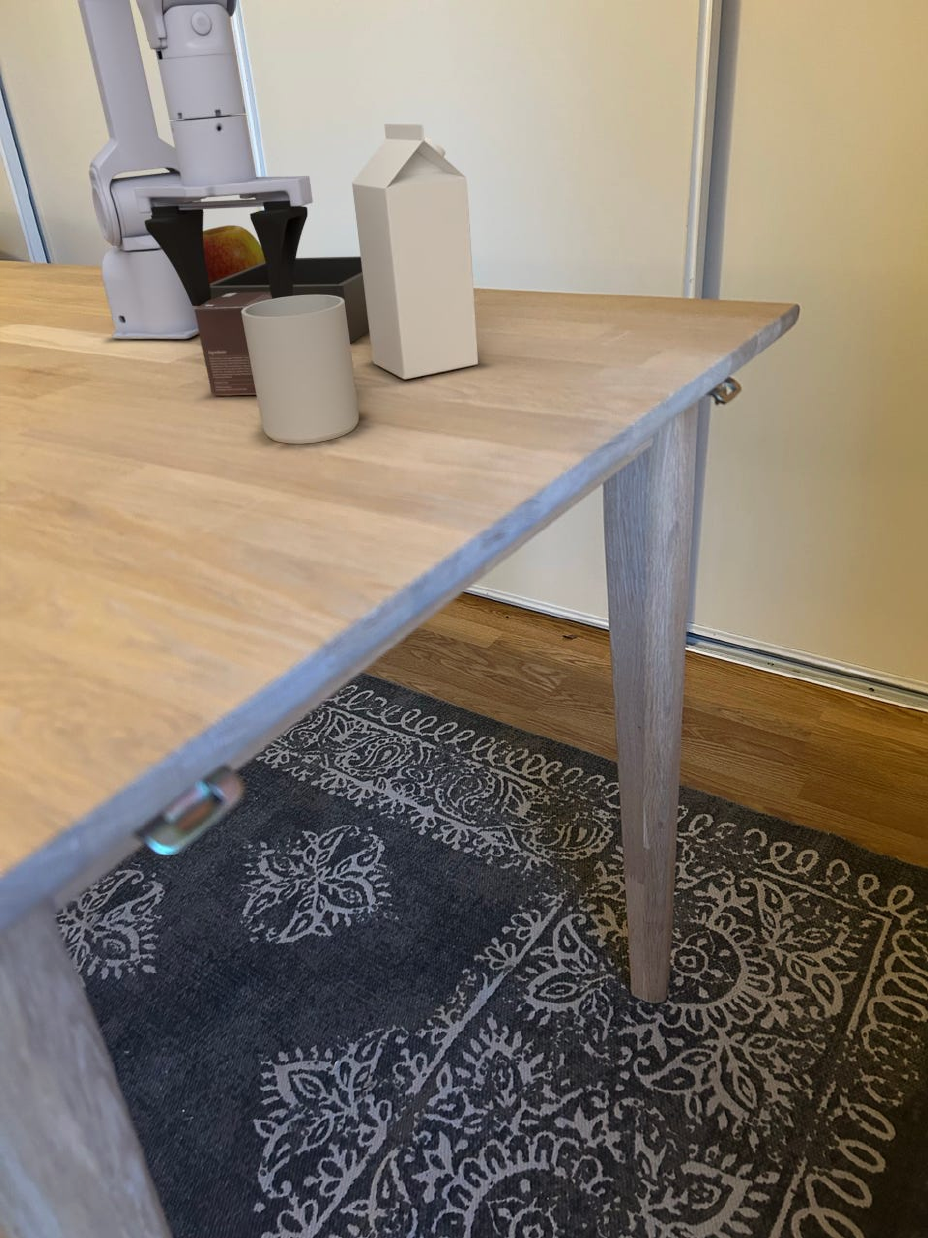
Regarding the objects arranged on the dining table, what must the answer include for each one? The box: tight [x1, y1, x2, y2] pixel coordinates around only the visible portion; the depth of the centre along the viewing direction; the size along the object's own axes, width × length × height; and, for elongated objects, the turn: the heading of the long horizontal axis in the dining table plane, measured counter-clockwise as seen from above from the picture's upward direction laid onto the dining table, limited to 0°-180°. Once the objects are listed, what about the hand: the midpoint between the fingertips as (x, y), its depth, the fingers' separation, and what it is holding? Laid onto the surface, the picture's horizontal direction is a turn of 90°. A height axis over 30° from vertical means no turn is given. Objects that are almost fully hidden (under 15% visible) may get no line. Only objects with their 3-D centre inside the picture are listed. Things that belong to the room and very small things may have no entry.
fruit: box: [203, 224, 265, 284], centre depth 116 cm, size 10×9×8 cm
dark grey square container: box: [210, 255, 370, 345], centre depth 100 cm, size 16×16×6 cm
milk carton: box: [351, 123, 479, 380], centre depth 79 cm, size 7×7×19 cm
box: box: [194, 292, 272, 396], centre depth 80 cm, size 6×6×7 cm
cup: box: [241, 295, 360, 445], centre depth 70 cm, size 7×10×9 cm
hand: (242, 303), depth 78 cm, fingers open, 7 cm apart
